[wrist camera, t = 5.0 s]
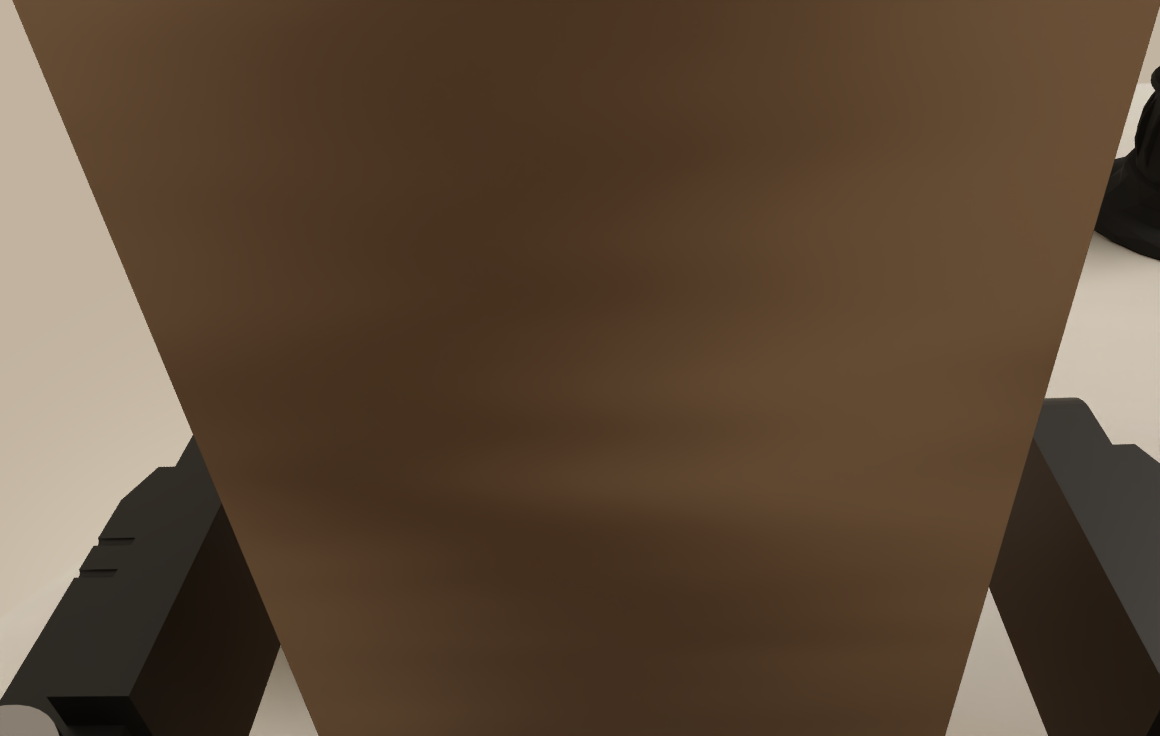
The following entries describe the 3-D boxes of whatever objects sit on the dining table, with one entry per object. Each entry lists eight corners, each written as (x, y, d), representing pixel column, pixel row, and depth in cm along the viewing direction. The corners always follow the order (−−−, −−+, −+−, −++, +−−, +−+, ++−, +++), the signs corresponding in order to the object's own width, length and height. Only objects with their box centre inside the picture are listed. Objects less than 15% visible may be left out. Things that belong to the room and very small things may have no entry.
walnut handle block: (778, 813, 19) (927, -467, 7) (823, 1148, 15) (1359, -666, 3) (517, 812, 20) (263, -405, 8) (486, 1137, 15) (-196, -499, 3)
